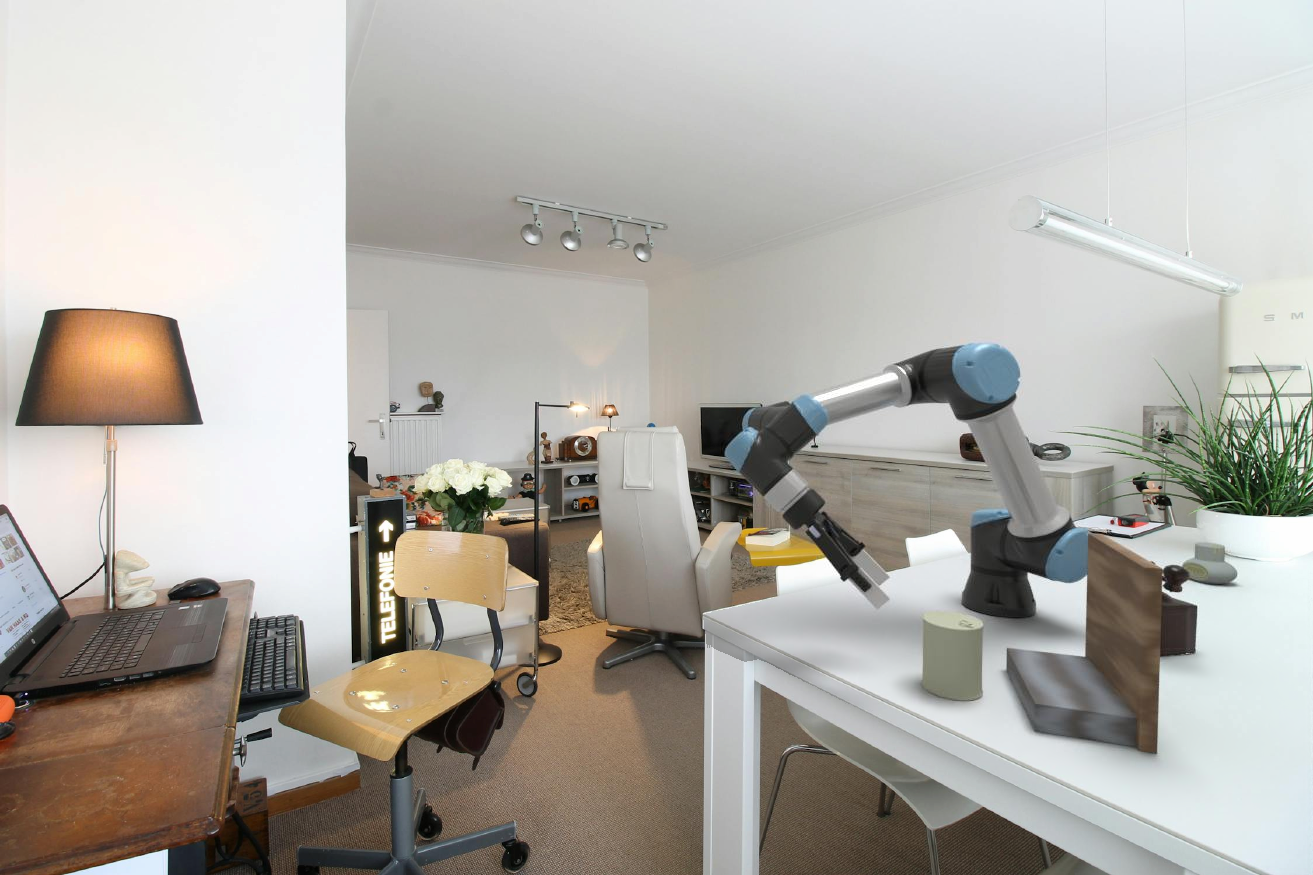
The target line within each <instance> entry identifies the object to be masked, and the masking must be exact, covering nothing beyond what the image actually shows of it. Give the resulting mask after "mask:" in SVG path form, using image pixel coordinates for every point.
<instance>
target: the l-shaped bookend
mask: <svg viewBox="0 0 1313 875" xmlns="http://www.w3.org/2000/svg"><path fill="white" fill-rule="evenodd" d="M1150 561H1151V560H1149V559H1146V558H1144V557H1143V556H1141V555H1139V554H1138V553H1136V552H1134V551H1132V550H1131V549H1129V548H1127V547H1125V546H1123V545H1122V544H1120V543H1118V542H1117V541H1115V540H1114V539H1112V538H1110V537H1108V536H1106V535H1104V534H1103V533H1092V534H1090V533H1088V559H1087V575H1086V603H1085V604H1086V607H1085V608H1086V610H1085V614H1086V615H1085V647H1084V650H1085V652H1084V655H1085V656H1081V655H1073V654H1067V653H1066V654H1065V653H1058V652H1057V653H1056V652H1047V651H1039V650H1038V651H1036V650H1029V649H1021V648H1014V647H1013V648H1012V647H1006V673H1007V674H1008V677H1009V678H1010V680H1011V683H1012V685H1013V687H1014V690H1015V692H1016V694H1017V696H1018V698H1019V700H1020V702H1021V705H1022V706H1023V709H1024V711H1025V713H1026V716H1027V717H1028V719H1029V722H1030V724H1031V727H1032V728H1033V730H1034V732H1039V733H1045V734H1052V735H1057V736H1062V737H1063V736H1065V737H1070V738H1071V737H1072V738H1076V739H1077V738H1078V739H1085V740H1089V741H1090V740H1091V741H1097V742H1103V743H1109V744H1116V745H1123V746H1128V747H1129V746H1130V747H1134V748H1137V750H1138V751H1139V752H1144V753H1145V752H1146V753H1150V754H1151V753H1152V754H1158V744H1159V743H1158V737H1159V736H1158V735H1159V707H1160V706H1159V702H1160V699H1159V698H1160V668H1161V667H1160V666H1161V663H1160V662H1161V656H1160V640H1161V605H1162V592H1163V581H1162V575H1163V573H1162V571H1163V569H1164V568H1162V567H1160V566H1159V565H1157V564H1156V563H1155V564H1156V565H1155V564H1153V563H1152V562H1150Z"/></svg>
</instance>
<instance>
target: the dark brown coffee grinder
mask: <svg viewBox="0 0 1313 875" xmlns="http://www.w3.org/2000/svg"><path fill="white" fill-rule="evenodd" d="M1149 561H1150V562H1152V563H1153V564H1155V565H1157V564H1156V563H1155V562H1154V561H1152V560H1149ZM1162 569H1163V571H1162V582H1164V583H1162V588H1163V589H1165V590H1167V591H1169V593H1182V592H1183V586H1182V585H1183V584H1184V583H1186V582H1187V581H1189V580H1190V579H1191V578H1190V574H1189V572H1188V571H1187V570H1186V569H1185V568H1183V567H1182V565H1179V564H1169V565H1166V566H1164V568H1162ZM1197 622H1198V605H1196V604H1194V603H1190V602H1188V601H1185V600H1181V599H1177V598H1175V597H1172V596H1171V595H1169V594H1168V593H1166V592H1164V591H1162V605H1161V640H1160V657H1166V656H1165V655H1175V656H1182V655H1181V654H1186V653H1193V654H1195V653H1197V652H1196V651H1197V650H1196V644H1197V627H1198V625H1197V624H1198V623H1197ZM1194 652H1195V653H1194Z"/></svg>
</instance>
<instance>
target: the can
mask: <svg viewBox="0 0 1313 875" xmlns="http://www.w3.org/2000/svg"><path fill="white" fill-rule="evenodd" d="M921 617H922V672H921V673H922V678H921V686H922V687H923V688H924V689H925V691H927V692H928V693H931V694H932V695H935V696H937V697H941V698H942V699H948V700H951V701H961V702H968V701H975V700H978V699H981V698H982V697H983V694H984V691H983V646H984V645H983V643H984V642H983V639H984V625H985V624H984V622H983V621H982V620H981V619H979V618H977V617H975V616H973V615H970V614H966V613H964V612H958V611H949V610H933V611H928V612H926V613H925V612H924V614H923V615H922V616H921Z"/></svg>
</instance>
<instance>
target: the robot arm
mask: <svg viewBox="0 0 1313 875" xmlns="http://www.w3.org/2000/svg"><path fill="white" fill-rule="evenodd" d="M1019 378H1021V368H1020V366H1019V363H1018V360H1017V359H1016V357H1015V356H1014V354H1013V353H1012V352H1011V351H1009V349H1007V348H1006V347H1004V346H1003V345H1000V344H997V343H993V342H970V343H967V344H962V345H955V346H949V347H943V348H942V347H941V348H935V349H934V348H933V349H930V350H929V351H925V352H922V353H920V354H917V355H913V356H912V357H909V358H906V359H905V360H901V361H898V362H895V363H892V364H888V365H887V366H885V367H884V369H883V370H882V372H878V373H875V374H871V375H868V376H864V377H862V378H859V379H855V380H851V381H848V382H845V383H841V384H837V385H834V386H830V387H828V388H824V389H820V390H817V391H813V392H811V393H807V394H802V395H800V396H797V397H794V398H790V399H786V400H784V401H780V402H777V403H772V404H770V405H766V406H762V405H761V406H757V407H753V408H751V409H749V410H748V411H747V412H746V413H745V414H744V416H743V418H742V424H741V425H742V431H740V432H739V433H738V434H737V435H736V436H735V437H734V438H733V439H732V440H731V441H730V443H728V445H727V446H726V448H725V450H724V457H725V458H726V459H727V460H728V461H729V463H730V464H731V465H732V466H733V467H734V470H736V472H737V473H738V474H740V475H741V476H742V478H744V480H746V481H747V482H748V484H750V485H751V486H752V487H753V488H754V489H755V490H756V491H757V492H758V493H759V494H760V495H761V497H763V498H764V500H766V501H765V505H766V506H767V507H772V508H773V509H774V510H775V511H776V512H777V513H783V514H781V516H782V519H783V520H784V521H785V522H786V523H787V524H788V525H789V526H790V527H791V528H792V529H793V530H795V531H797V530H799V529H800V528H802V526H804V525H805V526H806V527H807V529H806V530H805V533H806V535H807V537H809V538H810V539H811V541H813V542H814V543H815V545H816V547H817V548H818V549H819V551H821V552H822V554H823V556H825V558H826V559H827V560H828V561H829V563H830V564H831V565H832V567H833V568H834V569H835V570H836V572H837V573H838V574H839V576H840V577H839V579H840V580H841V581H842V582H844V583H845V582H846V581H849V582H850V583H851V584H852V585H853V586H854V587H855V588H856V590H858V591H859V592H860V593H861V595H863V597H865V598H866V600H868V602H869V603H871V605H872V606H874V608H875V609H876V610H877V611H878V610H879V609H880V608H882V607H883V606H884V605H886V604H887V603H888V601H890V600H891V597H890V596H889V595H888V594H887V593H886V592H885V591H884V589H882V588H881V586H882V585H883V583H885V582H886V581H888V580H889V579H891V575H890V574H888V573H887V572H886V571H885V569H883V568H882V566H881V565H879V564H878V562H877V561H876V560H875V559H874V558H872V556H870V555H869V554H868V552H866V550H865V549H864V548H865V547H866V544H865V543H863V541H861V542H860V541H859V540H857V539H856V537H854V536H853V535H852V534H850V533H849V532H848V531H846V529H844V528H843V527H842V526H841V525H840V524H838V522H836V521H835V520H834V519H833V518H832V517H831V516H830V515H829V514H828V513H827V512H826V511H824V510H823V511H821V512H820V510H821V509H822V508H823V507H824V506H825V504H826V501H825V499H824V498H823V497H822V496H821V495H820V494H819V493H818V492H817V490H815V489H814V488H809V485H810V484H809V482H807V481H806V479H805V478H804V477H802V475H800V473H799V472H798V471H796V469H795V468H793V466H791V465H790V464H789V461H790V460H791V459H792V458H793V457H795V456H796V455H797V454H798V453H799V452H800V451H801V450H803V449H804V448H805V447H806V446H807V445H808V444H809V443H810V442H811V441H812V440H814V439H815V438H816V437H818V436H819V435H820V433H822V431H823V430H824V429H825V428H826V427H828V426H829V425H830V426H831V425H833V424H836V423H840V422H842V421H846V420H849V419H852V418H856V417H859V416H862V415H866V414H870V413H872V412H876V411H879V410H882V409H885V408H889V407H892V406H894V407H895V408H899V409H900V408H905V407H908V406H911V405H913V406H914V405H918V404H919V405H920V404H948V405H949V407H950V409H951V411H952V413H953V415H954V418H955V419H956V420H957V421H959V422H961V423H964V424H965V423H966V424H967V425H968V428H969V430H970V432H971V434H972V436H973V438H974V441H975V442H976V444H977V447H978V450H979V451H980V453H981V456H982V458H983V460H984V462H985V464H986V466H987V468H988V471H989V472H990V474H991V477H992V479H993V482H994V484H995V485H996V488H997V490H998V492H999V495H1000V496H1001V499H1002V501H1003V503H1004V505H1005V507H1006V508H991V509H990V508H988V509H978V510H976V511H974V512H973V513H972V515H971V525H970V572H969V574H968V578H967V580H966V583H965V586H964V589H963V590H962V593H961V604H962V605H963V606H964V607H966V608H967V609H969V610H972V611H975V612H977V613H982V614H985V615H990V616H995V617H1003V618H1028V617H1032V616H1034V615H1036V614H1037V601H1036V599H1035V596H1034V593H1033V589H1032V587H1031V583H1030V580H1029V576H1028V575H1029V574H1032V575H1034V576H1038V577H1040V578H1043V579H1047V580H1050V581H1052V582H1060V583H1065V584H1073V583H1077V582H1080V581H1081V580H1082V579H1085V578H1086V577H1087V559H1088V533H1090V534H1093V533H1092V532H1091V531H1089V530H1087V529H1085V527H1084V528H1083V527H1077V526H1076V524H1075V523H1074V521H1073V519H1072V518H1073V517H1071V514H1070V512H1069V510H1068V509H1067V508H1066V507H1063V506H1061V505H1058V504H1057V503H1056V501H1055V499H1054V497H1053V494H1052V493H1051V490H1050V487H1049V486H1048V483H1047V481H1046V479H1045V477H1044V474H1043V473H1042V470H1041V468H1040V466H1039V463H1038V462H1037V459H1036V457H1035V455H1034V452H1033V450H1032V448H1031V446H1030V444H1029V442H1028V439H1027V437H1026V435H1025V433H1024V430H1023V429H1022V428H1023V427H1022V426H1021V424H1020V421H1019V418H1018V417H1017V414H1016V412H1015V410H1014V408H1013V407H1014V404H1015V403H1016V401H1017V399H1018V395H1017V393H1016V392H1017V391H1018V389H1019V386H1020V380H1019Z"/></svg>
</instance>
